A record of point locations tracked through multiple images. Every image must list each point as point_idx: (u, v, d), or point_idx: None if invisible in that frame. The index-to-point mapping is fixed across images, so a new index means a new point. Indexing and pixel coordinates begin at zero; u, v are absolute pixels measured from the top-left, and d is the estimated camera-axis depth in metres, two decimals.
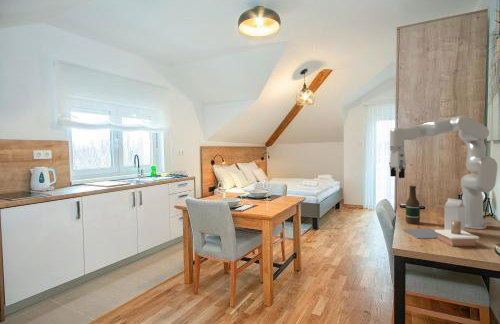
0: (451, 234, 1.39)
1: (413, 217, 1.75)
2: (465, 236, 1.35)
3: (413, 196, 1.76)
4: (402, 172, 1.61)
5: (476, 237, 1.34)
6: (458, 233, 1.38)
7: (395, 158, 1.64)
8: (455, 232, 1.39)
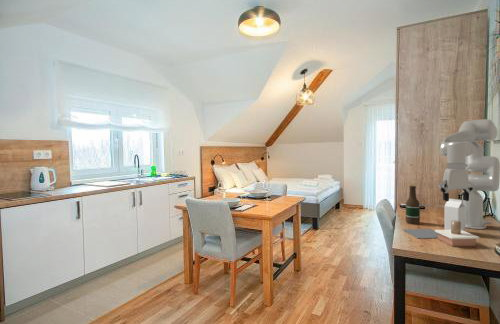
0: (451, 234, 1.39)
1: (413, 217, 1.75)
2: (465, 236, 1.35)
3: (413, 196, 1.76)
4: None
5: (476, 237, 1.34)
6: (458, 233, 1.38)
7: (464, 178, 1.37)
8: (455, 232, 1.39)
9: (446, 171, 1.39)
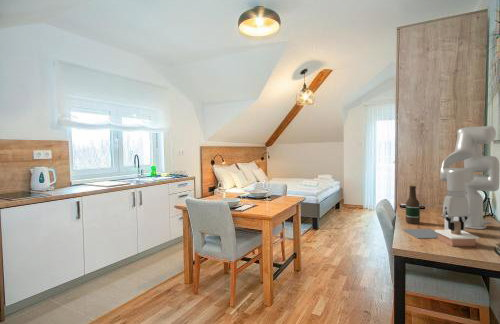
0: (451, 234, 1.39)
1: (413, 217, 1.75)
2: (465, 236, 1.35)
3: (413, 196, 1.76)
4: None
5: (476, 237, 1.34)
6: (458, 233, 1.38)
7: (464, 205, 1.37)
8: (455, 232, 1.39)
9: (446, 198, 1.40)
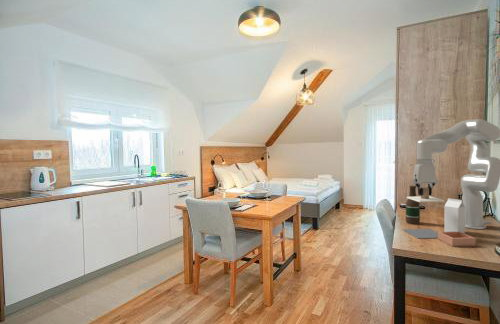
0: (420, 199, 1.53)
1: (413, 217, 1.75)
2: (432, 199, 1.50)
3: None
4: None
5: (442, 200, 1.48)
6: (426, 198, 1.53)
7: (432, 172, 1.52)
8: (424, 197, 1.53)
9: (416, 166, 1.54)
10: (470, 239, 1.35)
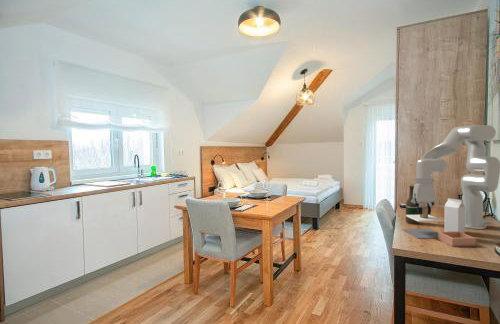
0: (419, 218, 1.54)
1: None
2: (431, 219, 1.50)
3: None
4: None
5: (441, 220, 1.49)
6: (425, 217, 1.53)
7: (431, 192, 1.52)
8: (423, 216, 1.54)
9: (415, 185, 1.55)
10: (470, 239, 1.35)
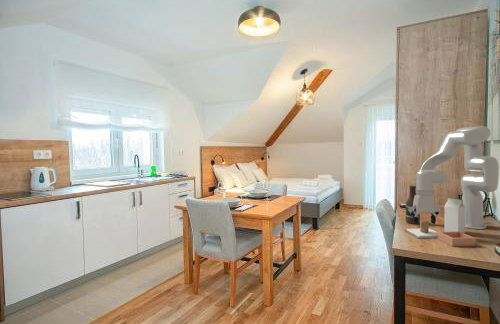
0: (420, 232, 1.54)
1: None
2: (431, 234, 1.51)
3: (413, 196, 1.76)
4: None
5: None
6: (426, 231, 1.54)
7: (431, 203, 1.53)
8: (423, 231, 1.54)
9: (415, 197, 1.55)
10: (470, 239, 1.35)
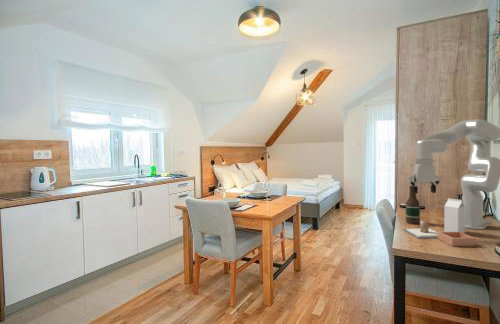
0: (420, 232, 1.54)
1: (413, 217, 1.75)
2: (431, 234, 1.51)
3: (413, 196, 1.76)
4: None
5: None
6: (426, 231, 1.54)
7: (431, 172, 1.52)
8: (423, 231, 1.54)
9: (415, 166, 1.55)
10: (470, 239, 1.35)
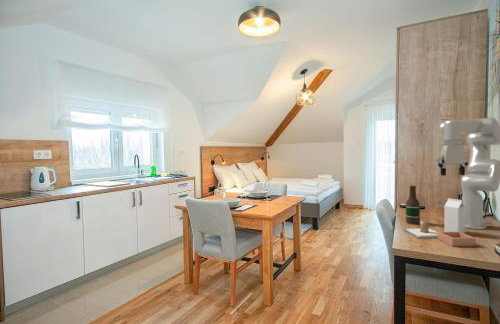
0: (420, 232, 1.54)
1: (413, 217, 1.75)
2: (431, 234, 1.51)
3: (413, 196, 1.76)
4: None
5: None
6: (426, 231, 1.54)
7: (460, 153, 1.46)
8: (423, 231, 1.54)
9: (443, 148, 1.49)
10: (470, 239, 1.35)
